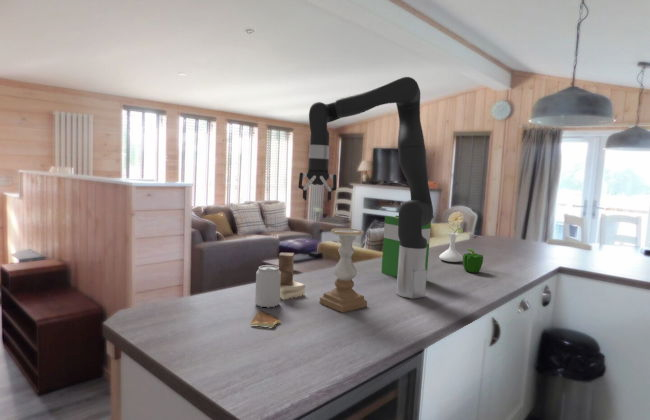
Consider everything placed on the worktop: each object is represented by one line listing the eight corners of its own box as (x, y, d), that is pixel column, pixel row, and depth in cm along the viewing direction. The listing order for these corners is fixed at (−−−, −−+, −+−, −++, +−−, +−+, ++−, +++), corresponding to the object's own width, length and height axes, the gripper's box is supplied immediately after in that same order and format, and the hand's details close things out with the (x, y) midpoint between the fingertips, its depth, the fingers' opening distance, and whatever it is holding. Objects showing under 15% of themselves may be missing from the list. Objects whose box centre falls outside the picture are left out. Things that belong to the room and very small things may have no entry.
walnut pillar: (292, 281, 142) (293, 253, 141) (291, 285, 138) (292, 255, 137) (279, 281, 142) (280, 252, 141) (278, 284, 138) (279, 255, 137)
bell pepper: (486, 273, 184) (488, 251, 183) (471, 274, 181) (473, 251, 180) (473, 269, 192) (474, 247, 191) (458, 269, 189) (460, 248, 188)
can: (256, 309, 124) (257, 270, 123) (253, 301, 131) (255, 264, 130) (281, 308, 126) (283, 269, 125) (277, 300, 133) (279, 263, 132)
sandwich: (259, 314, 122) (260, 308, 122) (285, 316, 121) (286, 310, 121) (249, 328, 111) (249, 321, 111) (277, 330, 110) (277, 324, 110)
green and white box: (381, 272, 176) (385, 216, 174) (393, 270, 181) (397, 215, 178) (414, 282, 163) (419, 221, 160) (426, 280, 167) (431, 221, 165)
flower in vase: (434, 258, 210) (438, 209, 207) (454, 258, 213) (458, 209, 210) (449, 265, 197) (453, 212, 195) (470, 264, 201) (474, 212, 198)
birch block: (304, 296, 140) (305, 284, 140) (283, 301, 134) (283, 289, 134) (287, 289, 147) (288, 278, 146) (266, 294, 141) (267, 282, 140)
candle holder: (318, 302, 133) (322, 228, 131) (344, 297, 140) (348, 226, 138) (342, 313, 125) (346, 234, 122) (367, 306, 132) (372, 231, 129)
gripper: (299, 156, 152) (297, 200, 154) (338, 158, 153) (336, 202, 154) (300, 157, 160) (298, 199, 161) (337, 158, 160) (335, 201, 162)
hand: (316, 200), depth 158 cm, fingers open, 8 cm apart
